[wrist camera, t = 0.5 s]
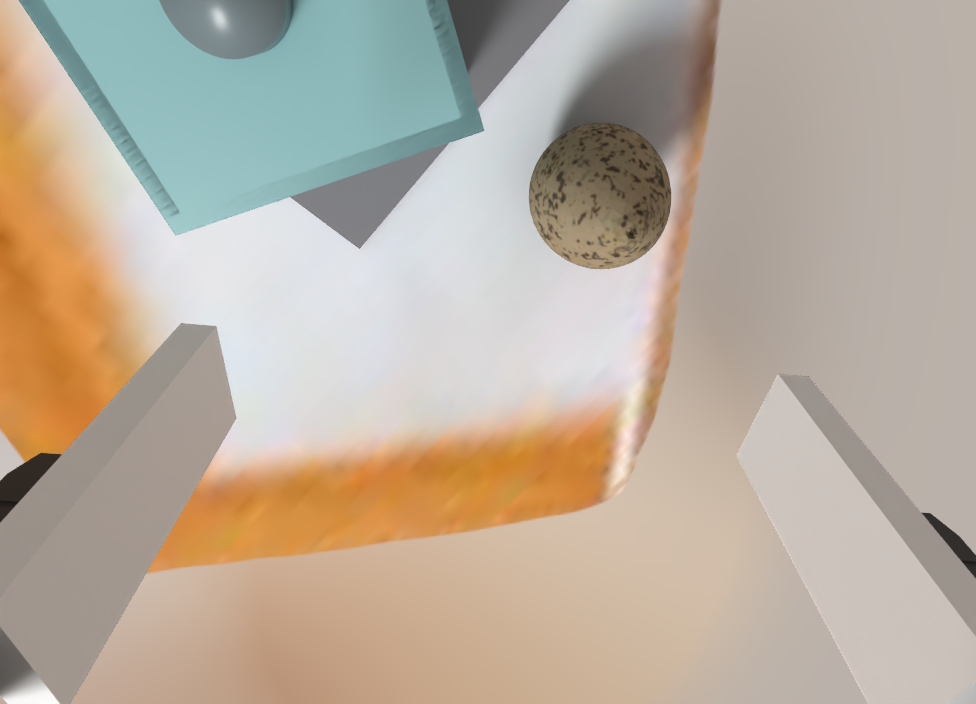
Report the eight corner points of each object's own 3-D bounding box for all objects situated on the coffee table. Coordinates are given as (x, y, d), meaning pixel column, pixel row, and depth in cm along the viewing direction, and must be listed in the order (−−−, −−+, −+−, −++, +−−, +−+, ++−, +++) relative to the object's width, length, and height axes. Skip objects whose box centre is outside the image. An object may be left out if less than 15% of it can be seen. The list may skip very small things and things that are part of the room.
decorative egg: (646, 109, 30) (729, 149, 22) (627, 231, 34) (692, 303, 26) (521, 110, 30) (558, 152, 21) (516, 234, 34) (546, 309, 25)
